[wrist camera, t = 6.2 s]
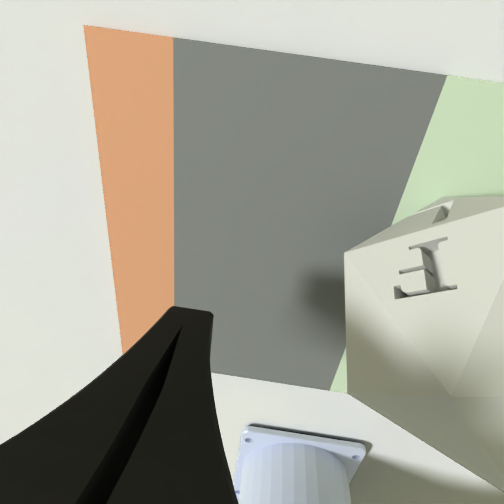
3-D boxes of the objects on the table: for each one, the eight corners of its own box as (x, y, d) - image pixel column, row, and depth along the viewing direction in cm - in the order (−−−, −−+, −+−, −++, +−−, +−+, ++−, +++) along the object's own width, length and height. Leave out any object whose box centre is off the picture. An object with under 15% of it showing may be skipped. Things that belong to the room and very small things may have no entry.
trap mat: (555, 422, 19) (557, 425, 19) (124, 356, 19) (123, 358, 19) (847, 130, 11) (856, 131, 10) (86, 25, 11) (83, 25, 11)
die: (577, 153, 12) (673, 105, 5) (662, 381, 12) (918, 730, 4) (365, 223, 17) (252, 254, 10) (419, 382, 17) (342, 538, 9)
